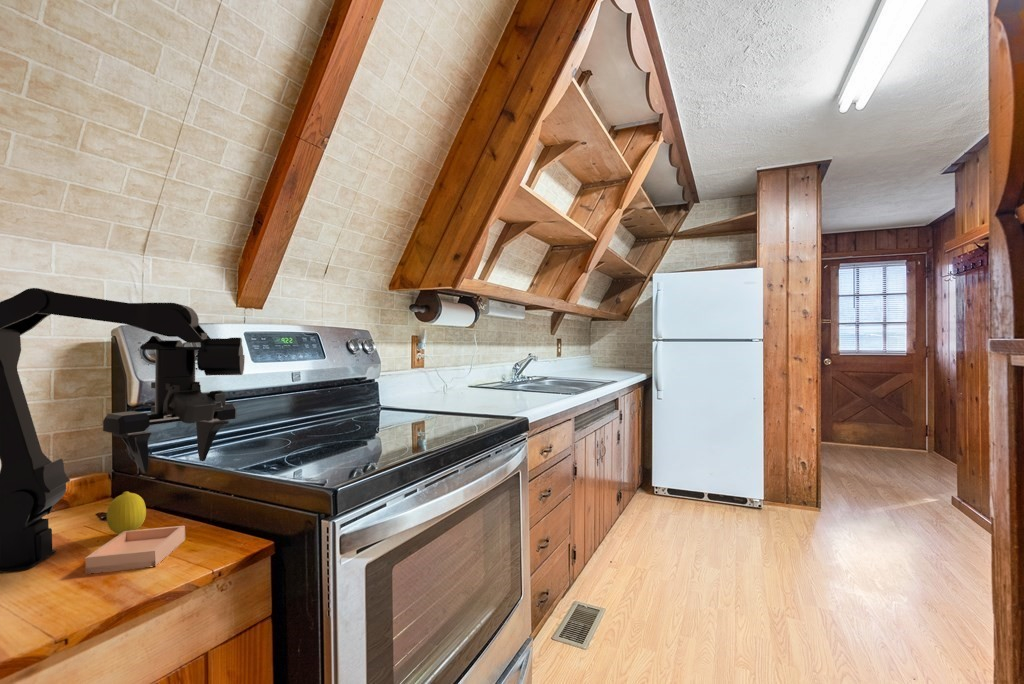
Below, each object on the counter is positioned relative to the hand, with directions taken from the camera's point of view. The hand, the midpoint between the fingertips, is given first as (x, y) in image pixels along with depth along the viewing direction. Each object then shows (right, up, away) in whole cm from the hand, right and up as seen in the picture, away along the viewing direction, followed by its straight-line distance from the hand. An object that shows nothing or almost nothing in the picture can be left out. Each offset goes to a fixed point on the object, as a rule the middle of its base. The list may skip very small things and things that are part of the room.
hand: (174, 466), depth 85 cm
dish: (-2, -13, -5) cm, 14 cm away
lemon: (-10, -13, +3) cm, 17 cm away
